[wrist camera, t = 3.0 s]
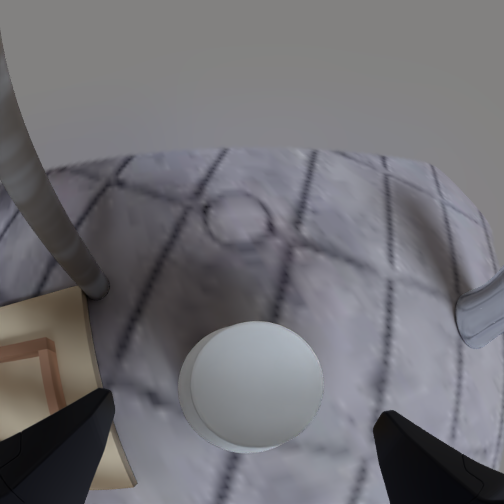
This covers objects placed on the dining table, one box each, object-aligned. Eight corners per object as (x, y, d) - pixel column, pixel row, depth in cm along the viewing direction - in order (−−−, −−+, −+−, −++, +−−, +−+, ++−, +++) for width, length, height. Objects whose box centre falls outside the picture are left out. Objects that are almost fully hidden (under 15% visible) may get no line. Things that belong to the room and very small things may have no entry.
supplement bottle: (282, 360, 17) (348, 310, 9) (272, 439, 14) (337, 470, 6) (199, 346, 17) (186, 283, 9) (185, 426, 14) (150, 452, 6)
